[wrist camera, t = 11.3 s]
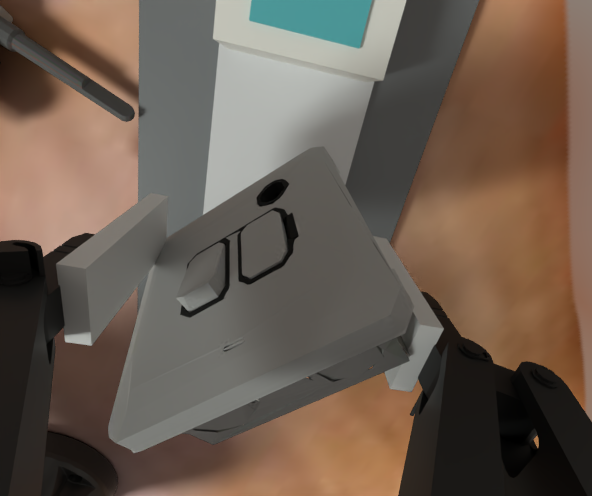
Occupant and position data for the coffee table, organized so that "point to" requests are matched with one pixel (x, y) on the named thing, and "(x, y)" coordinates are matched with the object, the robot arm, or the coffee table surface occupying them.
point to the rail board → (290, 95)
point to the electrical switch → (260, 311)
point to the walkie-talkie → (60, 68)
